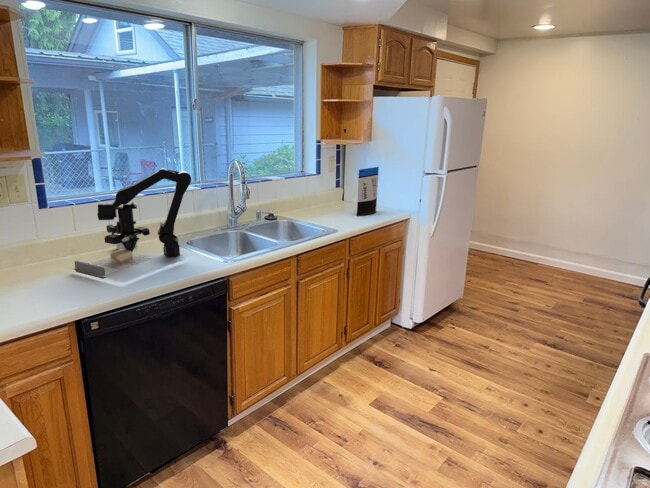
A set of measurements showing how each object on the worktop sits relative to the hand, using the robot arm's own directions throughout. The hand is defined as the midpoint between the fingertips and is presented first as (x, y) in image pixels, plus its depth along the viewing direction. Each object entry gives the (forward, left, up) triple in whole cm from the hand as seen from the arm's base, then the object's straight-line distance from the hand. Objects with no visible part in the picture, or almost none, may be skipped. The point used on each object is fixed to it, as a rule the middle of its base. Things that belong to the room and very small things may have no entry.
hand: (129, 254), depth 191 cm
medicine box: (+14, -10, -3) cm, 18 cm away
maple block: (0, +5, -2) cm, 5 cm away
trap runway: (0, +8, -3) cm, 8 cm away
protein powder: (-52, -147, -3) cm, 156 cm away
